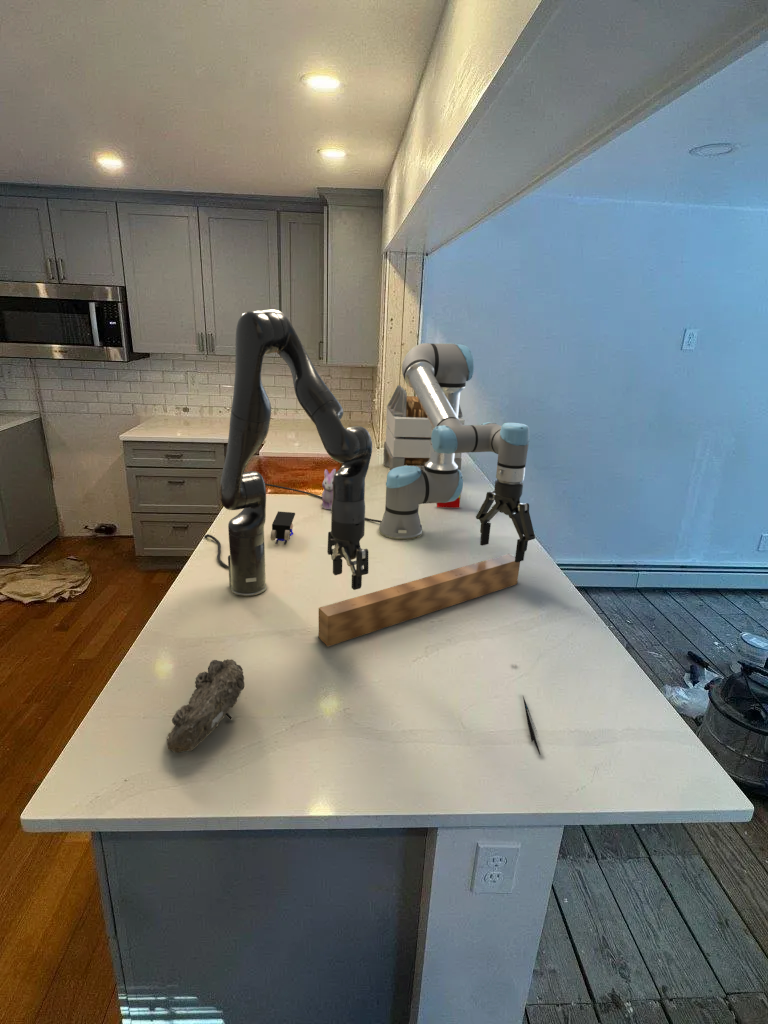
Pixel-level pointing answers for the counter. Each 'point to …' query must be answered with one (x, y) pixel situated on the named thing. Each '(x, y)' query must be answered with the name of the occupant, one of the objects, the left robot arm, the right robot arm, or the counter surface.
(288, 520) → the black wheeled block
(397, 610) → the bar
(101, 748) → the counter surface
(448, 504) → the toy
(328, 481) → the figurine
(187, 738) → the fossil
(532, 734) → the feather
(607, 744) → the counter surface
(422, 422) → the grey crate
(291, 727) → the counter surface
